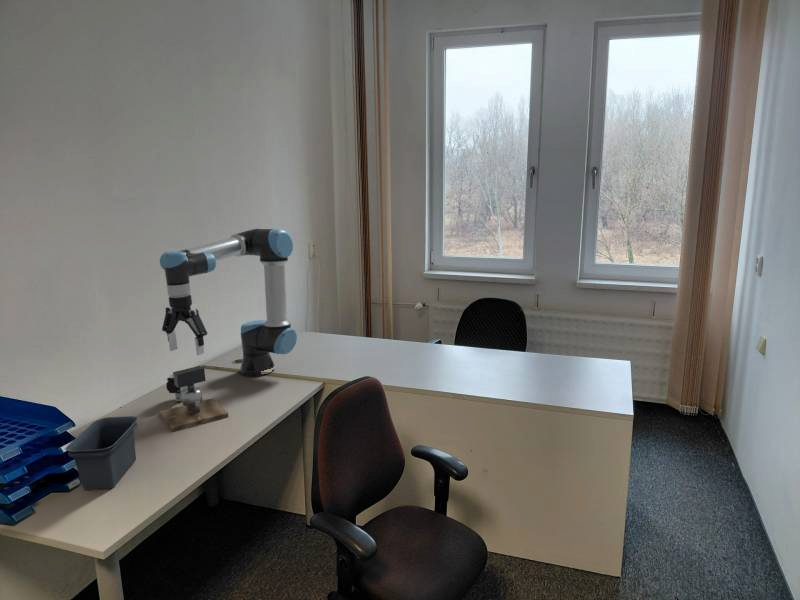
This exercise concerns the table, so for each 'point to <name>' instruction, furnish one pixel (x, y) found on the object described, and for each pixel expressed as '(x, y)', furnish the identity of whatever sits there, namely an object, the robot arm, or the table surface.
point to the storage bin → (104, 451)
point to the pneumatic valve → (174, 388)
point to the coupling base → (193, 414)
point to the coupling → (190, 384)
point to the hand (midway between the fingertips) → (187, 352)
